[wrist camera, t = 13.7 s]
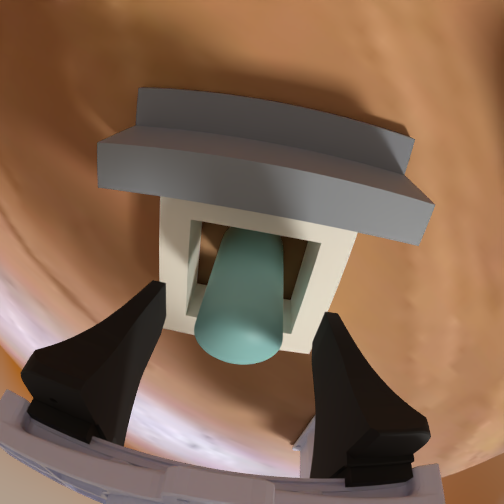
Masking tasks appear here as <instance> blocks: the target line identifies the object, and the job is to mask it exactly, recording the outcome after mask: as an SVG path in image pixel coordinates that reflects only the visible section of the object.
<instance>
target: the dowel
mask: <svg viewBox="0 0 504 504" xmlns="http://www.w3.org/2000/svg"><path fill="white" fill-rule="evenodd" d="M194 334H195V337H196V340H197V342H198V343H199V345H200V346H201V347H202V348H203V349H204V350H205V351H206V352H207V353H208V354H210V355H211V356H213V357H215V358H217V359H219V360H222V361H224V362H228V363H233V364H255V363H259V362H262V361H265V360H267V359H269V358H271V357H272V356H273V355H275V354H276V353H277V352H278V350H279V349H280V347H281V345H282V341H283V242H282V239H281V237H280V235H275V234H270V233H264V232H259V231H253V230H248V229H242V228H237V227H230V228H229V229H228V230H227V231H226V232H225V234H224V236H223V238H222V241H221V244H220V247H219V251H218V254H217V257H216V260H215V263H214V266H213V269H212V272H211V275H210V278H209V281H208V284H207V287H206V291H205V294H204V297H203V300H202V303H201V306H200V310H199V313H198V316H197V319H196V322H195V326H194Z"/></svg>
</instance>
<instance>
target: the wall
mask: <svg viewBox="0 0 504 504" xmlns="http://www.w3.org/2000/svg"><path fill="white" fill-rule="evenodd" d="M414 141H415V139H413V138H411V137H409V136H406V135H403V134H400V133H397V132H394V131H391V130H388V129H385V128H381V127H378V126H375V125H372V124H368V123H365V122H361V121H358V120H354V119H351V118H347V117H343V116H339V115H335V114H331V113H327V112H323V111H319V110H314V109H310V108H305V107H301V106H296V105H291V104H286V103H281V102H275V101H270V100H264V99H258V98H252V97H245V96H238V95H231V94H223V93H215V92H206V91H196V90H184V89H170V88H151V87H141V88H139V89H138V100H137V113H136V125H135V126H133V127H131V128H128V129H126V130H124V131H121V132H119V133H117V134H115V135H112V136H110V137H108V138H106V139H104V140H102V141H99V142H97V171H98V188H106V189H113V190H120V191H127V192H135V193H141V194H148V195H155V196H162V197H168V198H175V199H181V200H187V201H194V202H200V203H206V204H212V205H218V206H224V207H229V208H235V209H241V210H246V211H252V212H258V213H263V214H268V215H274V216H279V217H284V218H290V219H295V220H300V221H305V222H310V223H315V224H320V225H325V226H330V227H335V228H340V229H345V230H349V231H354V232H359V233H363V234H368V235H373V236H377V237H382V238H386V239H391V240H395V241H399V242H404V243H408V244H412V245H417V246H419V244H420V241H421V239H422V237H423V234H424V232H425V230H426V227H427V225H428V222H429V220H430V217H431V215H432V212H433V210H434V207H435V204H434V203H433V202H432V201H431V200H430V199H429V198H428V197H427V196H426V195H425V194H424V193H423V192H422V191H421V190H420V189H419V188H418V187H416V186H415V185H414V184H413V183H412V182H411V181H410V180H409V179H408V178H407V177H406V176H405V175H404V174H405V171H406V168H407V165H408V161H409V158H410V155H411V151H412V148H413V145H414Z"/></svg>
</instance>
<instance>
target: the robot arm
mask: <svg viewBox="0 0 504 504" xmlns="http://www.w3.org/2000/svg"><path fill="white" fill-rule="evenodd" d="M165 319H166V283H163V282H159V281H154V280H153V281H152V282H150V283H149V284H148V285H147V286H146V287H145V288H144V289H142V290H141V291H140V292H139V293H138V294H137V295H136V296H134V297H133V298H132V299H131V300H130V301H128V302H127V303H126V304H125V305H124V306H122V307H121V308H120V309H118V310H117V311H116V312H114V313H113V314H112V315H110V316H109V317H108V318H106V319H105V320H103V321H102V322H100V323H98V324H97V325H95V326H94V327H92V328H90V329H88V330H86V331H84V332H82V333H80V334H78V335H76V336H74V337H72V338H70V339H67V340H65V341H62V342H60V343H57V344H54V345H51V346H48V347H44V348H41V349H37V350H35V351H34V353H33V354H32V355H31V357H30V358H29V360H28V361H27V363H26V365H25V366H24V368H23V370H22V372H21V378H22V380H23V382H24V384H25V385H26V387H27V389H28V390H29V392H30V393H31V395H32V396H33V400H32V402H31V403H30V402H29V401H27V400H26V399H24V398H23V397H21V396H19V395H17V394H15V393H13V392H12V391H10V390H6V391H5V393H4V394H3V396H2V398H1V400H0V447H1V448H2V449H3V450H5V451H6V452H7V453H8V454H9V455H10V456H12V457H14V458H15V459H17V460H19V461H20V462H22V463H24V464H25V465H27V466H29V467H30V468H32V469H34V470H36V471H38V472H39V473H41V474H43V475H44V476H46V477H48V478H50V479H52V480H54V481H56V482H58V483H59V484H61V485H64V486H65V487H67V488H69V489H72V490H74V491H76V492H78V493H80V494H82V495H84V496H86V497H89V498H91V499H93V500H96V501H98V502H100V503H103V504H445V499H444V492H443V486H442V481H441V475H440V470H439V465H438V464H437V463H435V464H429V465H422V466H417V467H414V468H412V466H411V463H412V462H414V455H413V454H414V453H415V452H416V451H418V450H419V449H420V448H421V447H423V446H424V445H425V444H426V443H427V442H428V441H429V439H430V437H431V434H430V430H429V425H428V422H427V419H426V417H425V416H423V415H422V414H420V413H419V412H418V411H416V410H415V409H413V408H412V407H411V406H409V405H408V404H407V403H406V402H405V401H403V400H402V399H401V398H400V397H399V396H398V395H397V394H395V393H394V392H393V391H392V390H391V389H390V388H389V387H388V386H387V385H386V383H385V382H384V381H383V380H382V379H381V378H380V377H379V376H378V374H377V373H376V372H375V371H374V370H373V368H372V367H371V366H370V364H369V363H368V362H367V360H366V359H365V357H364V356H363V355H362V353H361V352H360V350H359V348H358V347H357V345H356V344H355V342H354V340H353V339H352V337H351V335H350V334H349V332H348V330H347V329H346V327H345V325H344V323H343V322H342V320H341V318H340V317H339V315H338V313H331V312H325V313H324V315H323V318H322V320H321V323H320V325H319V327H318V330H317V332H316V335H315V337H314V339H313V342H312V371H313V382H314V392H315V406H316V414H315V416H314V417H313V419H312V420H311V422H310V423H309V424H308V426H307V427H306V429H305V430H304V431H303V433H302V434H301V436H300V437H299V438H298V440H297V441H296V443H295V444H294V445H293V447H292V449H293V450H295V451H300V478H288V477H274V476H263V475H253V474H245V473H237V472H230V471H224V470H217V469H212V468H206V467H201V466H196V465H191V464H186V463H182V462H177V461H173V460H169V459H165V458H161V457H157V456H153V455H150V454H146V453H143V452H139V451H136V450H133V449H129V448H126V447H124V442H125V437H126V432H127V427H128V423H129V419H130V415H131V411H132V407H133V404H134V400H135V396H136V393H137V390H138V387H139V383H140V380H141V377H142V375H143V372H144V370H145V368H146V366H147V363H148V361H149V359H150V357H151V355H152V352H153V350H154V348H155V346H156V344H157V341H158V339H159V337H160V335H161V332H162V329H163V325H164V322H165Z"/></svg>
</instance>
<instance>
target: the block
mask: <svg viewBox="0 0 504 504" xmlns="http://www.w3.org/2000/svg"><path fill="white" fill-rule="evenodd" d="M202 221H203V222H208V223H214V224H220V225H225V226H231V227H237V228H242V229H248V230H253V231H259V232H264V233H270V234H275V235H281V236H286V237H291V238H297V239H302V240H307V241H308V243H307V247H306V250H305V254H304V257H303V260H302V264H301V267H300V271H299V274H298V277H297V281H296V284H295V287H294V290H293V294H292V297H291V300H287V299H283V341H282V345H281V347H280V349H279V350H283V351H290V352H298V353H305V354H309V353H310V351H311V349H312V342H313V339H314V337H315V335H316V332H317V330H318V327H319V325H320V323H321V320H322V318H323V315H324V313H325V312H328V309H329V307H330V304H331V302H332V299H333V297H334V295H335V292H336V289H337V287H338V284H339V282H340V279H341V277H342V274H343V271H344V269H345V266H346V264H347V261H348V258H349V255H350V253H351V250H352V247H353V244H354V242H355V239H356V236H357V233H358V232H354V231H349V230H345V229H340V228H335V227H330V226H325V225H320V224H315V223H310V222H305V221H300V220H295V219H290V218H284V217H279V216H274V215H268V214H263V213H258V212H252V211H246V210H241V209H235V208H229V207H224V206H218V205H212V204H206V203H200V202H194V201H187V200H181V199H175V198H168V197H162V196H160V223H159V279H160V282H163V283H166V319H165V322H164V325H163V328H164V329H169V330H173V331H178V332H182V333H187V334H192V335H195V334H194V326H195V322H196V319H197V316H198V313H199V310H200V306H201V303H202V300H203V297H204V294H205V291H206V287H207V285H203V284H198V283H197V278H198V265H199V253H200V241H201V230H202Z"/></svg>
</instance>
